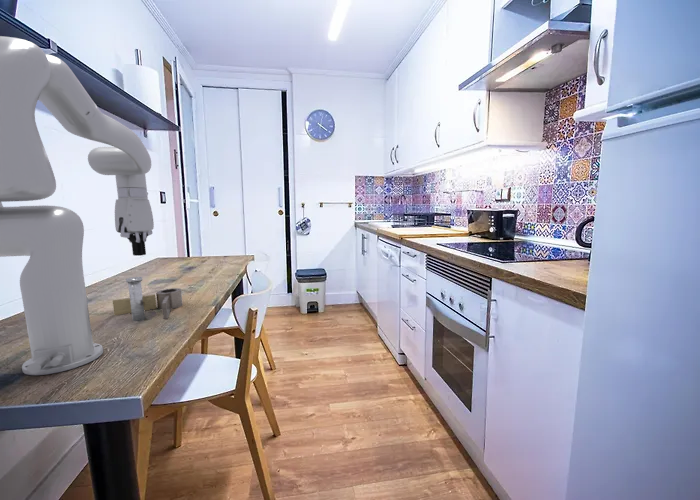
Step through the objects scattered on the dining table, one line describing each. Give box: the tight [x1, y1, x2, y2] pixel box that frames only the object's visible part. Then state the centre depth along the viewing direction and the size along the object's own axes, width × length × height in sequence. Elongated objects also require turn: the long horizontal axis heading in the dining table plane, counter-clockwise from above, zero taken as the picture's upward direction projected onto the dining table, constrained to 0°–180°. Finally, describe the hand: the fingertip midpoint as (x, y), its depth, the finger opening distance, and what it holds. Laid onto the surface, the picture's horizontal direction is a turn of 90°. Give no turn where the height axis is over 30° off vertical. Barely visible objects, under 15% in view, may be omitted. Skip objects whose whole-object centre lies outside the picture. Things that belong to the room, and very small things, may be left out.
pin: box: [125, 276, 146, 322], centre depth 93 cm, size 4×4×12 cm
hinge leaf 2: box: [155, 287, 184, 320], centre depth 100 cm, size 17×7×5 cm, turn 23°
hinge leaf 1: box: [112, 293, 158, 316], centre depth 100 cm, size 11×1×4 cm, turn 122°
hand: (139, 255), depth 102 cm, fingers closed
